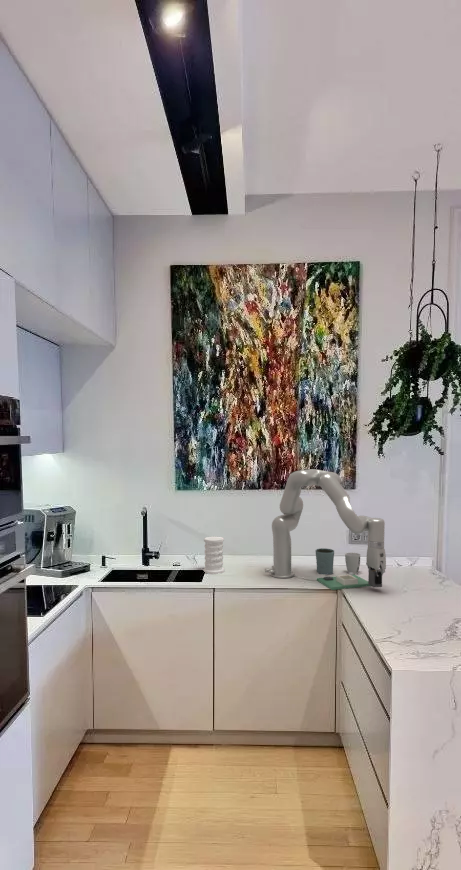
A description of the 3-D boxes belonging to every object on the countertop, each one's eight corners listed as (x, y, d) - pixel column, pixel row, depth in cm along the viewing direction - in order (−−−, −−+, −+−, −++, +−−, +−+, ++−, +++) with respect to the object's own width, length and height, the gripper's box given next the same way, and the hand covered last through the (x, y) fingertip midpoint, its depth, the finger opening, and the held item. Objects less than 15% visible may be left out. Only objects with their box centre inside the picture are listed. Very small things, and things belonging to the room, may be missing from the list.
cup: (361, 575, 252) (360, 556, 252) (345, 574, 254) (345, 555, 254) (360, 571, 260) (359, 552, 260) (344, 570, 262) (344, 552, 262)
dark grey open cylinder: (328, 569, 264) (328, 547, 264) (338, 574, 255) (338, 551, 255) (312, 571, 261) (312, 549, 261) (321, 575, 251) (321, 553, 251)
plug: (373, 587, 224) (373, 572, 224) (368, 584, 229) (368, 569, 229) (383, 586, 226) (383, 571, 226) (377, 583, 230) (377, 568, 230)
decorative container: (199, 571, 260) (198, 538, 260) (213, 567, 269) (213, 535, 269) (214, 575, 253) (214, 541, 253) (228, 570, 262) (228, 538, 262)
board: (331, 589, 228) (331, 582, 228) (316, 580, 243) (316, 573, 243) (372, 585, 234) (372, 578, 234) (354, 576, 249) (354, 569, 249)
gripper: (393, 548, 220) (392, 587, 220) (372, 540, 236) (371, 576, 236) (379, 548, 218) (378, 588, 218) (359, 540, 234) (358, 577, 234)
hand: (375, 582), depth 227 cm, fingers closed on plug, 4 cm apart
